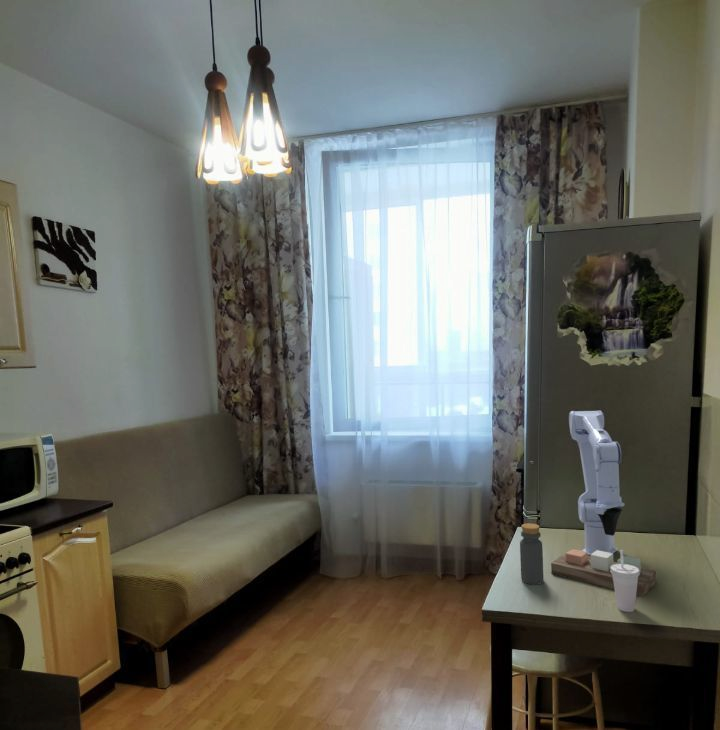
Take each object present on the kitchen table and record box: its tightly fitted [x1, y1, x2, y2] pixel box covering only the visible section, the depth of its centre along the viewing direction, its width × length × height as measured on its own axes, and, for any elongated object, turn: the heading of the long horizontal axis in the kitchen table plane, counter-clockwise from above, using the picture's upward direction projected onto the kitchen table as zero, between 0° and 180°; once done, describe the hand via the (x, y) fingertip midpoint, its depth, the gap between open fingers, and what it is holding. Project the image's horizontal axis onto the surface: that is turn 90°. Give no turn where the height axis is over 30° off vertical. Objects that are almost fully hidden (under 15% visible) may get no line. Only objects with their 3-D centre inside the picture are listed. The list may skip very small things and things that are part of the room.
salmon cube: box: [565, 548, 589, 566], centre depth 160 cm, size 4×4×4 cm
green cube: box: [616, 555, 642, 574], centre depth 150 cm, size 4×4×4 cm
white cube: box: [590, 550, 614, 572], centre depth 155 cm, size 4×4×4 cm
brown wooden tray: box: [550, 552, 658, 597], centre depth 155 cm, size 11×24×3 cm, turn 47°
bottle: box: [519, 522, 544, 585], centre depth 155 cm, size 6×6×15 cm
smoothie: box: [610, 549, 640, 613], centre depth 136 cm, size 6×6×14 cm
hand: (609, 534), depth 159 cm, fingers closed
